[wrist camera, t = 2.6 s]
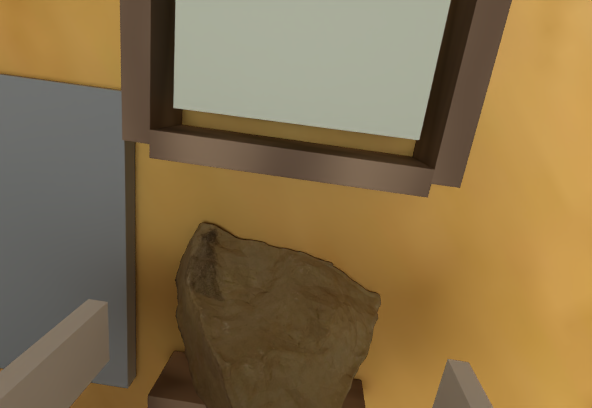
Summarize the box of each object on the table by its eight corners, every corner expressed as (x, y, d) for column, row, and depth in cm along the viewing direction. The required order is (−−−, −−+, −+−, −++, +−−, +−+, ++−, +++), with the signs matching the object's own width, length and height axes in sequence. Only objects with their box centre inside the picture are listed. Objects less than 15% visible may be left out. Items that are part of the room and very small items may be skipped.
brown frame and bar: (155, 363, 22) (126, 409, 19) (162, -91, 15) (117, -145, 12) (376, 398, 22) (386, 451, 19) (488, -50, 15) (537, -95, 12)
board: (-40, 348, 23) (-55, 359, 22) (-92, 61, 18) (-115, 58, 17) (135, 376, 23) (127, 388, 22) (134, 92, 18) (123, 91, 17)
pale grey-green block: (197, 105, 18) (163, 106, 14) (202, -27, 16) (165, -68, 12) (397, 132, 18) (419, 140, 14) (424, 0, 16) (458, -33, 12)
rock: (114, 275, 18) (217, 428, 19) (92, 280, 10) (267, 540, 11) (275, 179, 23) (352, 304, 23) (343, 132, 15) (456, 322, 16)
